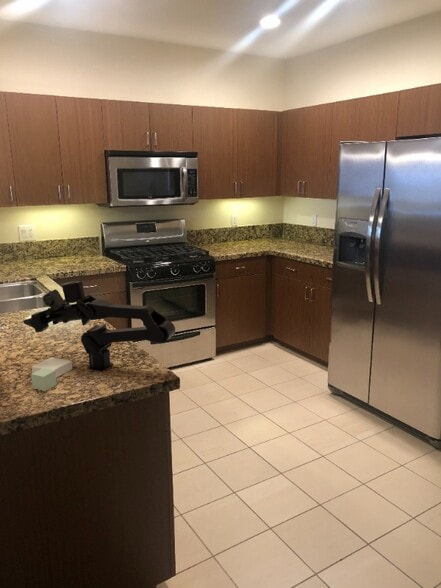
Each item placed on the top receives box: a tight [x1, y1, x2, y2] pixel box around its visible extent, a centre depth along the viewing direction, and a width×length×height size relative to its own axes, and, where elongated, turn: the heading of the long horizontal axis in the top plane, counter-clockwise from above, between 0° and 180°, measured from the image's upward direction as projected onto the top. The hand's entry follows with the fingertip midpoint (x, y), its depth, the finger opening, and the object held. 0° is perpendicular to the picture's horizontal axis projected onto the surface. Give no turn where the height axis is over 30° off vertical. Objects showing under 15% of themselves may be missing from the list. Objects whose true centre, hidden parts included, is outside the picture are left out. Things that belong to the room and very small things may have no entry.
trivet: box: [31, 356, 73, 379], centre depth 159 cm, size 9×9×3 cm
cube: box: [30, 368, 58, 392], centre depth 147 cm, size 5×5×5 cm
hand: (32, 317), depth 166 cm, fingers open, 9 cm apart
